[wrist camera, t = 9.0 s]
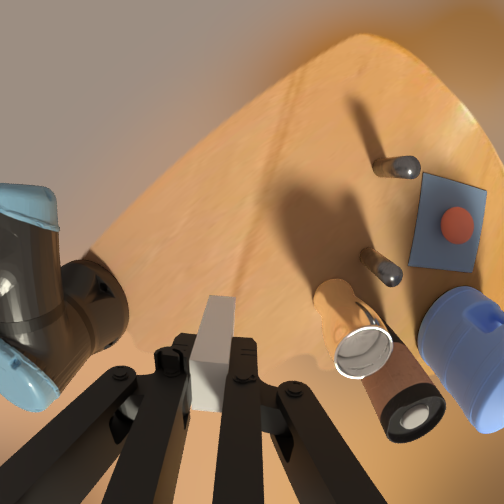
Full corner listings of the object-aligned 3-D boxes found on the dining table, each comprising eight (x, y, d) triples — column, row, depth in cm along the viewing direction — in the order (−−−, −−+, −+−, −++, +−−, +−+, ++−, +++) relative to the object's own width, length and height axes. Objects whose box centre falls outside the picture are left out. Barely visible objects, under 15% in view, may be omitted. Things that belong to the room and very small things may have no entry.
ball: (468, 244, 38) (437, 237, 41) (474, 210, 36) (443, 203, 39) (471, 250, 34) (437, 242, 37) (478, 211, 32) (443, 203, 35)
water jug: (445, 372, 46) (517, 469, 19) (398, 343, 44) (481, 466, 17) (493, 308, 43) (587, 382, 16) (453, 267, 41) (577, 347, 14)
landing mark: (407, 265, 41) (408, 265, 41) (423, 172, 38) (423, 172, 37) (471, 272, 41) (472, 272, 41) (486, 191, 38) (487, 191, 37)
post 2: (358, 264, 41) (381, 286, 32) (361, 246, 40) (385, 264, 32) (374, 265, 41) (399, 287, 32) (377, 248, 40) (404, 266, 32)
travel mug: (390, 347, 45) (443, 428, 25) (347, 361, 45) (385, 452, 26) (386, 307, 43) (451, 384, 23) (341, 322, 43) (385, 412, 24)
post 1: (371, 175, 38) (400, 176, 29) (373, 156, 37) (402, 153, 29) (388, 178, 38) (419, 180, 29) (390, 160, 37) (421, 158, 29)
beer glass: (332, 327, 44) (359, 389, 29) (300, 300, 43) (317, 360, 28) (365, 294, 42) (406, 346, 28) (333, 265, 41) (368, 311, 27)
